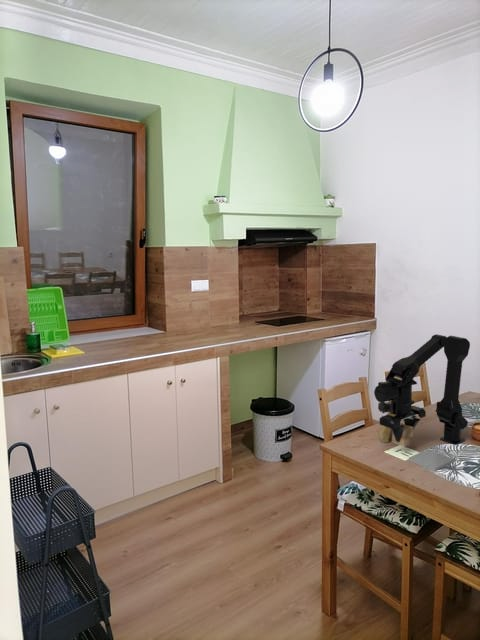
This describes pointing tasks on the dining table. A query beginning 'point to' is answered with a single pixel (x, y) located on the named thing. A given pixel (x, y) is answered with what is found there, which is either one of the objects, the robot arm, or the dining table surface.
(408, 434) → the block
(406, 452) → the pale cream tile
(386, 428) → the rock
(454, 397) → the robot arm
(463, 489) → the dining table surface
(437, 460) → the slate board
